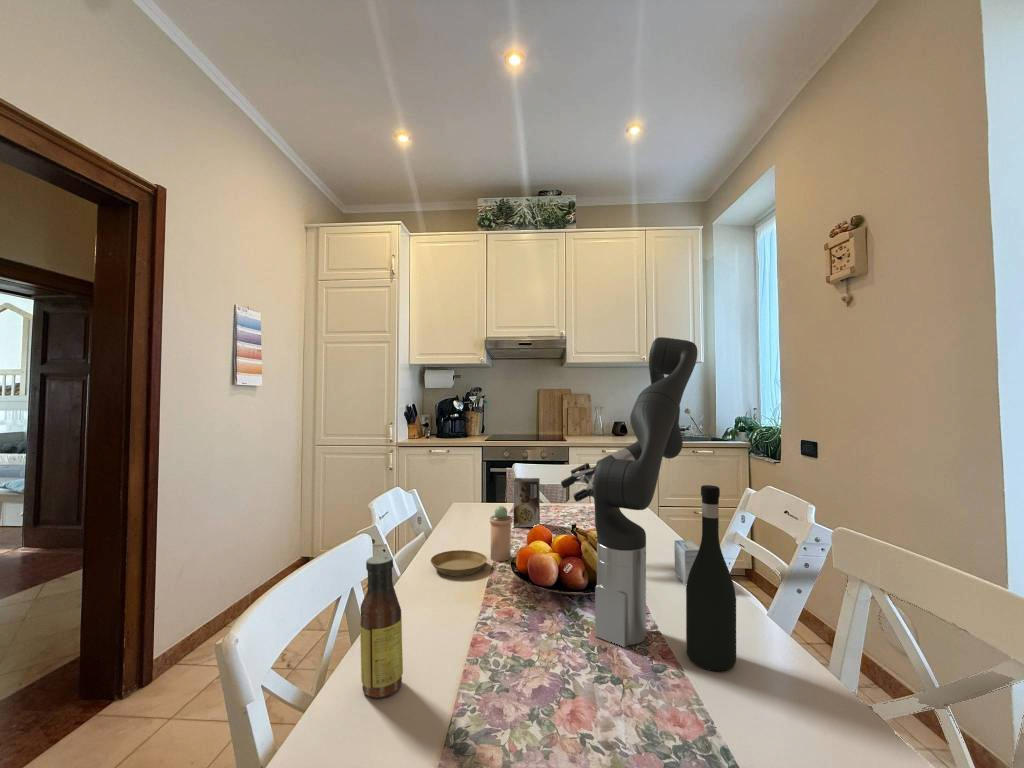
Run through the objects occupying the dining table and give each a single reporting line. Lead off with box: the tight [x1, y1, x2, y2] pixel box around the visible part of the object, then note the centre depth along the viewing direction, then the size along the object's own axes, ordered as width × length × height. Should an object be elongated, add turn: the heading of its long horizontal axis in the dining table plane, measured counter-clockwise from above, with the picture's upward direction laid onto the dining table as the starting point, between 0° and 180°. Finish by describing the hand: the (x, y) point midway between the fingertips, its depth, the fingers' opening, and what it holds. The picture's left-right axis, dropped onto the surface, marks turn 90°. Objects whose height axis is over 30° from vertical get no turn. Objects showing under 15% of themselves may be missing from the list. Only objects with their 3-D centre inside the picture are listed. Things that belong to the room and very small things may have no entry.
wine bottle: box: [685, 484, 737, 672], centre depth 81 cm, size 8×8×30 cm
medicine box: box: [673, 539, 700, 585], centre depth 116 cm, size 8×4×9 cm, turn 179°
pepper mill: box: [489, 505, 513, 562], centre depth 131 cm, size 6×6×14 cm
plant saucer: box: [430, 549, 488, 577], centre depth 123 cm, size 15×15×3 cm
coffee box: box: [512, 477, 541, 528], centre depth 163 cm, size 9×6×16 cm
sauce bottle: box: [359, 554, 404, 699], centre depth 73 cm, size 7×6×20 cm
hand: (568, 491), depth 131 cm, fingers open, 8 cm apart
